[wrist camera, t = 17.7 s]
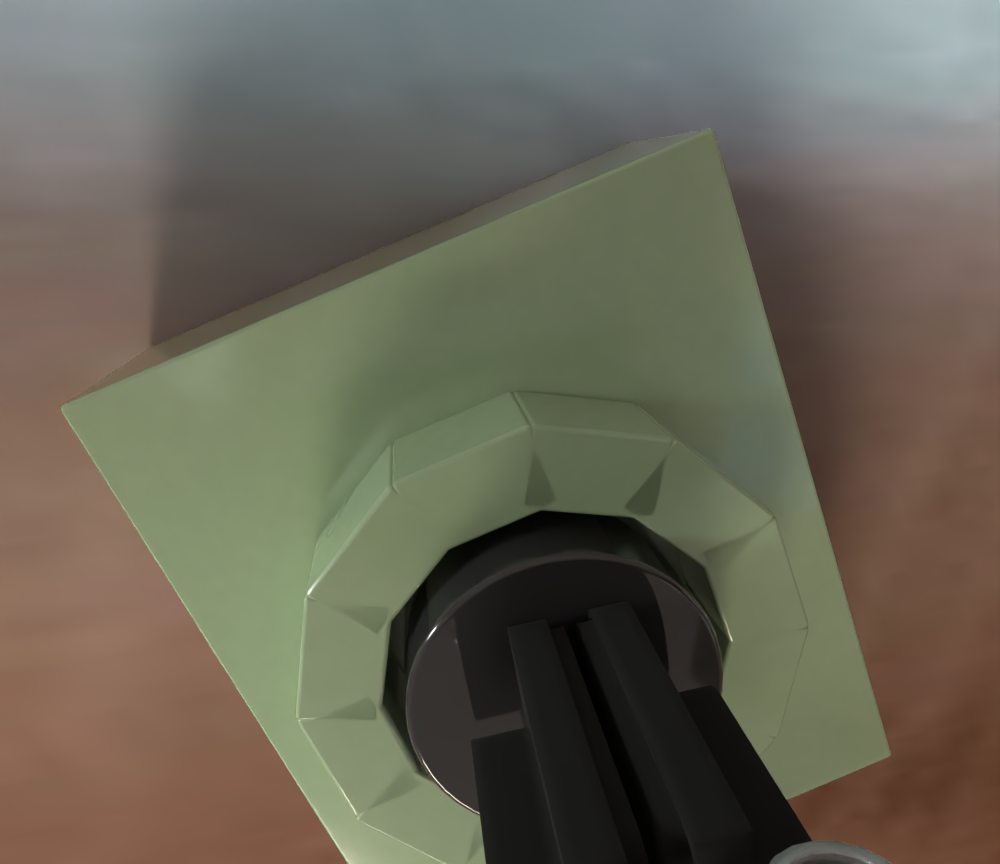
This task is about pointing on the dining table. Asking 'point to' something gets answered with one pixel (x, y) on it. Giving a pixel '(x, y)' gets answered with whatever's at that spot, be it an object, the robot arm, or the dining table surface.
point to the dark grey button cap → (527, 598)
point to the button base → (488, 471)
